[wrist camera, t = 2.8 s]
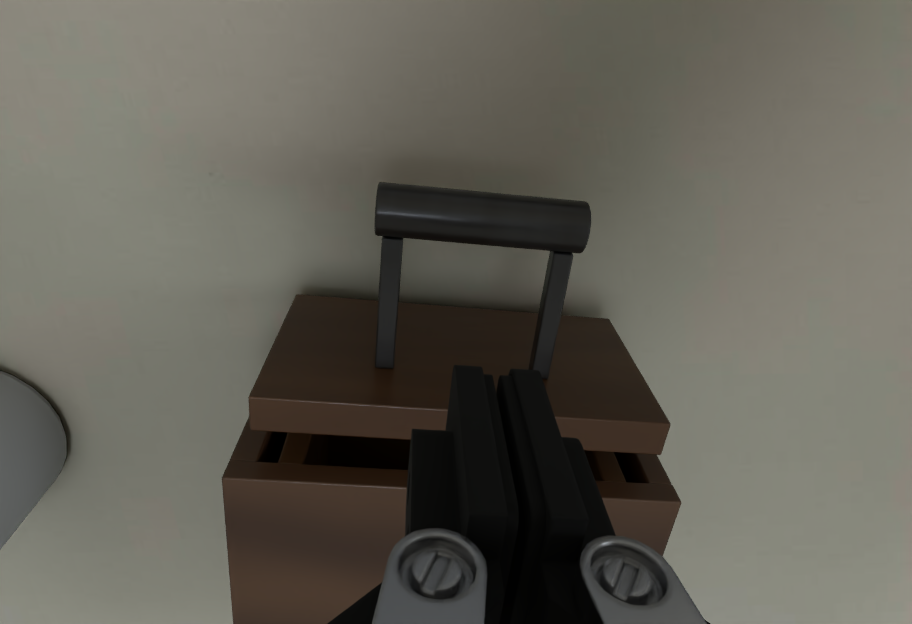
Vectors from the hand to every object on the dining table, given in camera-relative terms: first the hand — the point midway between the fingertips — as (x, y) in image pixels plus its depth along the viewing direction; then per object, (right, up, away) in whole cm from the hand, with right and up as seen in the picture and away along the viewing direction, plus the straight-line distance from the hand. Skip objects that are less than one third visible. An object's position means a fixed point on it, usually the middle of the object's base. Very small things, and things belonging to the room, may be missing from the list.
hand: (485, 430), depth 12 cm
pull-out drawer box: (-1, -1, +14) cm, 14 cm away
